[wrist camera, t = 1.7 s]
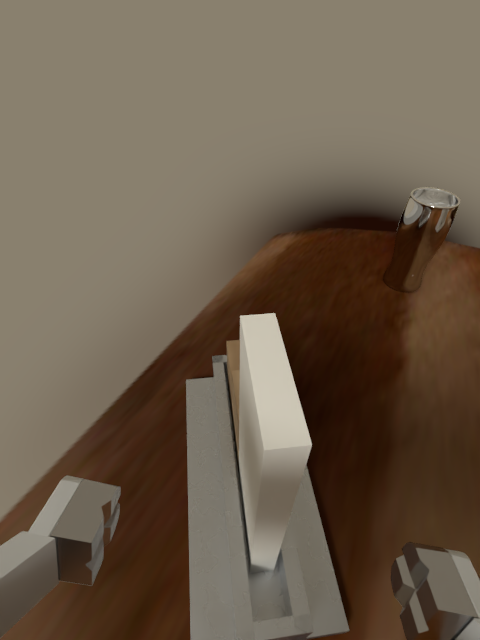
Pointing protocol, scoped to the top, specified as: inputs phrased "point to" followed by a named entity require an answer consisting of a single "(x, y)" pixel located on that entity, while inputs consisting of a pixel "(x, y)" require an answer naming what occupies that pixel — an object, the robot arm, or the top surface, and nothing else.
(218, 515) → the slot rack
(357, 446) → the top surface
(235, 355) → the short offcut
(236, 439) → the tall offcut
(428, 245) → the beer glass
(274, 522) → the tall panel
